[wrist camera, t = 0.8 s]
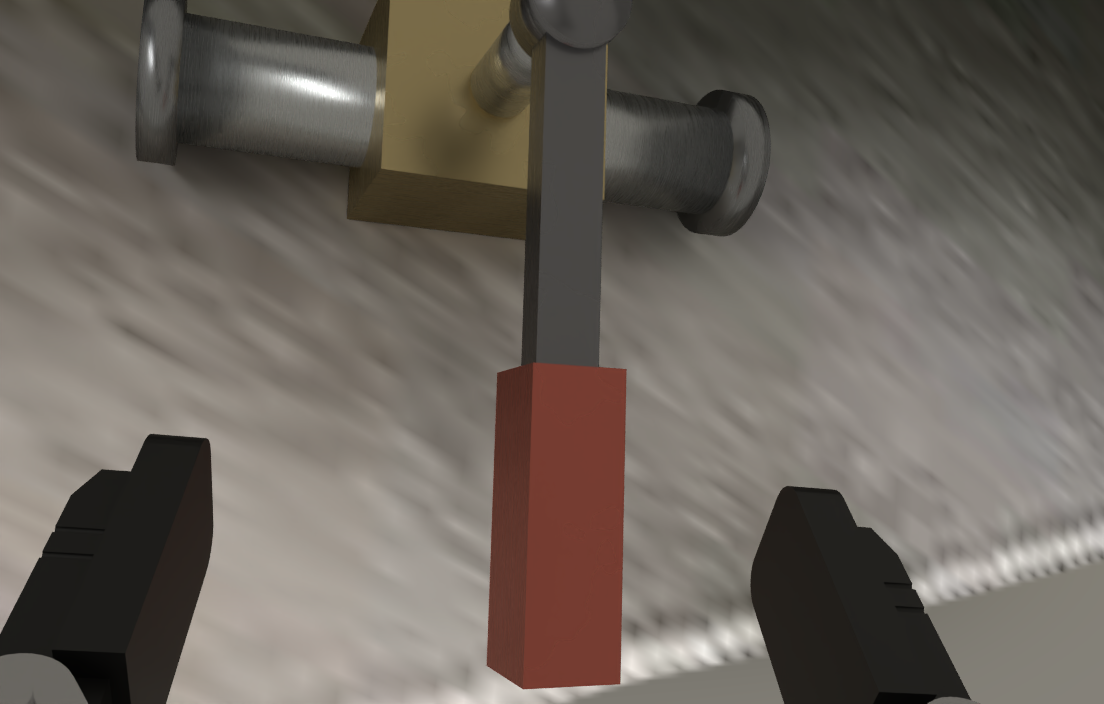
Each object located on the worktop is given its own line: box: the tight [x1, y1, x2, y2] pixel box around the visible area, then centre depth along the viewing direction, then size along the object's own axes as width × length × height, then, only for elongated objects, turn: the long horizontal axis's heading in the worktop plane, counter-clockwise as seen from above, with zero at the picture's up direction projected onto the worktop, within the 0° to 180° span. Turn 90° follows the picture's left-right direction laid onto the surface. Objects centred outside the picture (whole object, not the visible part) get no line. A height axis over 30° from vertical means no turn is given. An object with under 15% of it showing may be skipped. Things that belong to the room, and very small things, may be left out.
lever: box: [487, 0, 632, 689], centre depth 27 cm, size 20×3×3 cm, turn 178°
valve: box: [136, 0, 771, 240], centre depth 35 cm, size 23×7×12 cm, turn 88°
